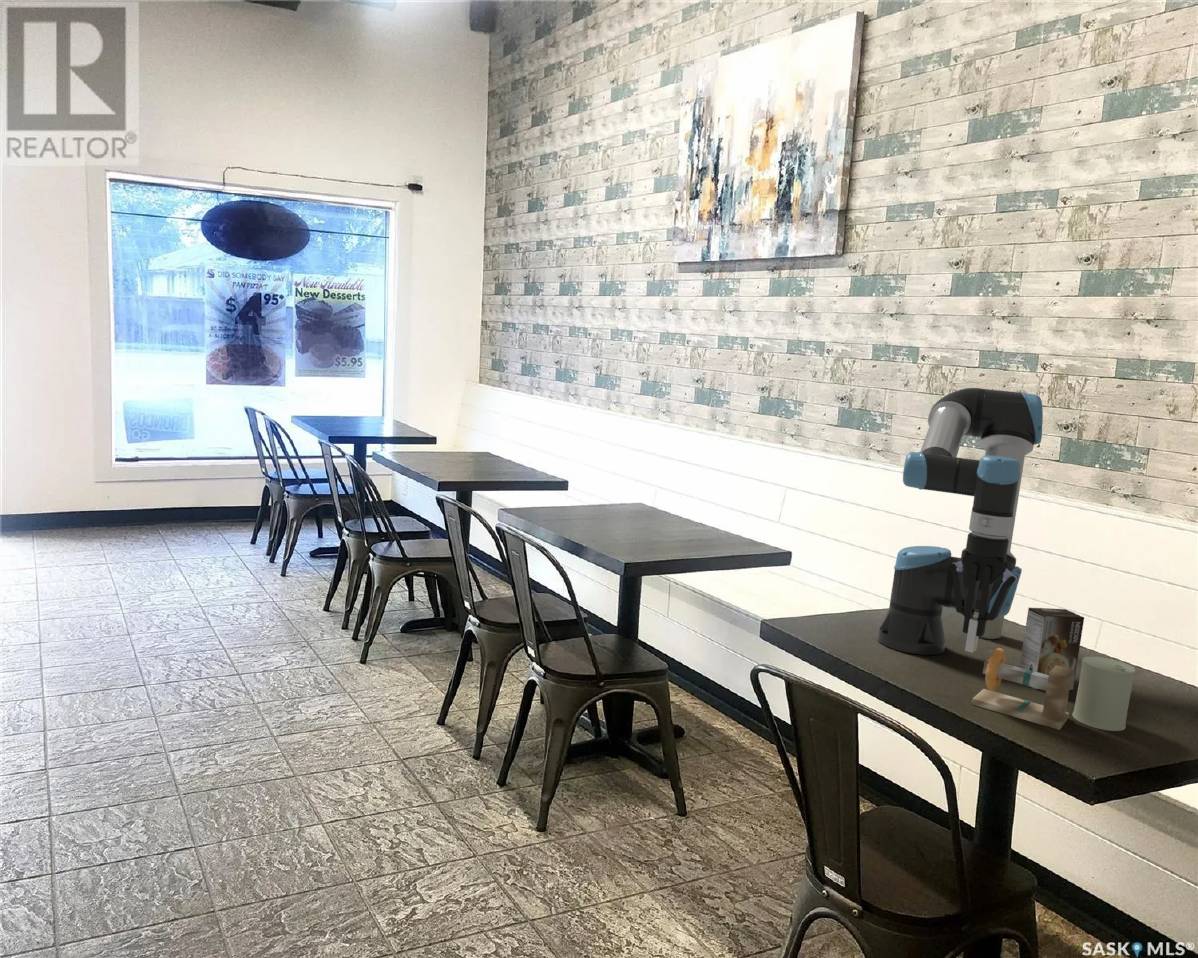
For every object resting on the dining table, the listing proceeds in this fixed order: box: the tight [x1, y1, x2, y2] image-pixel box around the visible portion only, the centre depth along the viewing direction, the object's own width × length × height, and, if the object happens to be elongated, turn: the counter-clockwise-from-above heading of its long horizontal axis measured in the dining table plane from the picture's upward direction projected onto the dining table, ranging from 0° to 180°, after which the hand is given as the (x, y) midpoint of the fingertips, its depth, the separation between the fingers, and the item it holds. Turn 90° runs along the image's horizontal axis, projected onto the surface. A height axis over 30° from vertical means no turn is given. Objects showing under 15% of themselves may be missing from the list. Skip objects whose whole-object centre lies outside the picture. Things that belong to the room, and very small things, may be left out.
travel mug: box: [973, 612, 1005, 640], centre depth 236 cm, size 8×8×18 cm
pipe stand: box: [971, 658, 1073, 731], centre depth 185 cm, size 16×8×10 cm, turn 53°
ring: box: [984, 647, 1007, 691], centre depth 187 cm, size 2×8×8 cm, turn 143°
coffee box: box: [1019, 607, 1085, 691], centre depth 202 cm, size 9×6×16 cm
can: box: [1072, 655, 1137, 732], centre depth 183 cm, size 9×9×12 cm
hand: (970, 650), depth 190 cm, fingers closed
